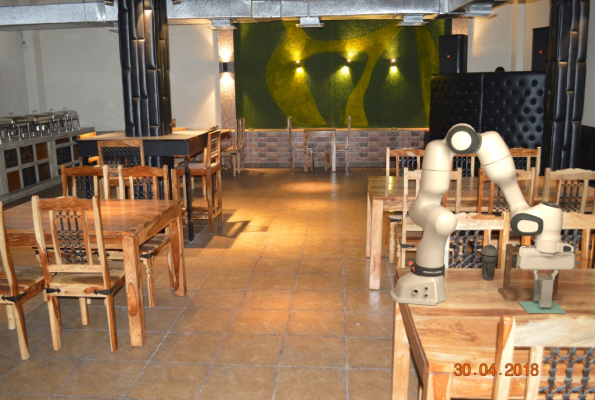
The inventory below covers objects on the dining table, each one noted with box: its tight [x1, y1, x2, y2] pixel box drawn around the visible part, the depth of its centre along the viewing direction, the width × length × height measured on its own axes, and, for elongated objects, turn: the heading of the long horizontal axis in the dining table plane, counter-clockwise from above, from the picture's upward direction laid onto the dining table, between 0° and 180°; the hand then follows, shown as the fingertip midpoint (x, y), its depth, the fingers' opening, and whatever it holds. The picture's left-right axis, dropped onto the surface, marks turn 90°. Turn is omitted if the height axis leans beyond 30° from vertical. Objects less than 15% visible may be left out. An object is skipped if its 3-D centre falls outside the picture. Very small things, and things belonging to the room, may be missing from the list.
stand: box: [497, 243, 563, 302], centre depth 216 cm, size 22×10×22 cm, turn 88°
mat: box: [518, 301, 567, 315], centre depth 206 cm, size 14×10×1 cm
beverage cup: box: [480, 234, 499, 281], centre depth 235 cm, size 7×7×20 cm
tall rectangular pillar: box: [533, 272, 554, 307], centre depth 205 cm, size 4×7×11 cm, turn 178°
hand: (544, 279), depth 204 cm, fingers closed on tall rectangular pillar, 4 cm apart
